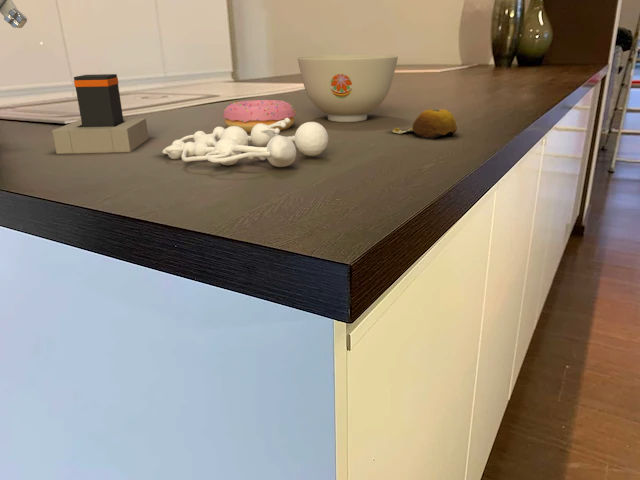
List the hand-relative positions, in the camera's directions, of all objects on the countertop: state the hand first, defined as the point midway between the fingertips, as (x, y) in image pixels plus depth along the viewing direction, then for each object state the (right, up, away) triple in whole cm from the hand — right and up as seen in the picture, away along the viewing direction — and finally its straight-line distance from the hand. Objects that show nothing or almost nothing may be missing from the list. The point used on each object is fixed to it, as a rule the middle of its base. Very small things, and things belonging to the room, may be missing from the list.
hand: (3, 23), depth 66 cm
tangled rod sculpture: (+30, -18, -5) cm, 35 cm away
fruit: (+54, -12, +10) cm, 56 cm away
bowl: (+43, -7, +24) cm, 50 cm away
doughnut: (+30, -10, +17) cm, 35 cm away
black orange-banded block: (+11, -14, +5) cm, 18 cm away
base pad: (+10, -14, +5) cm, 18 cm away
